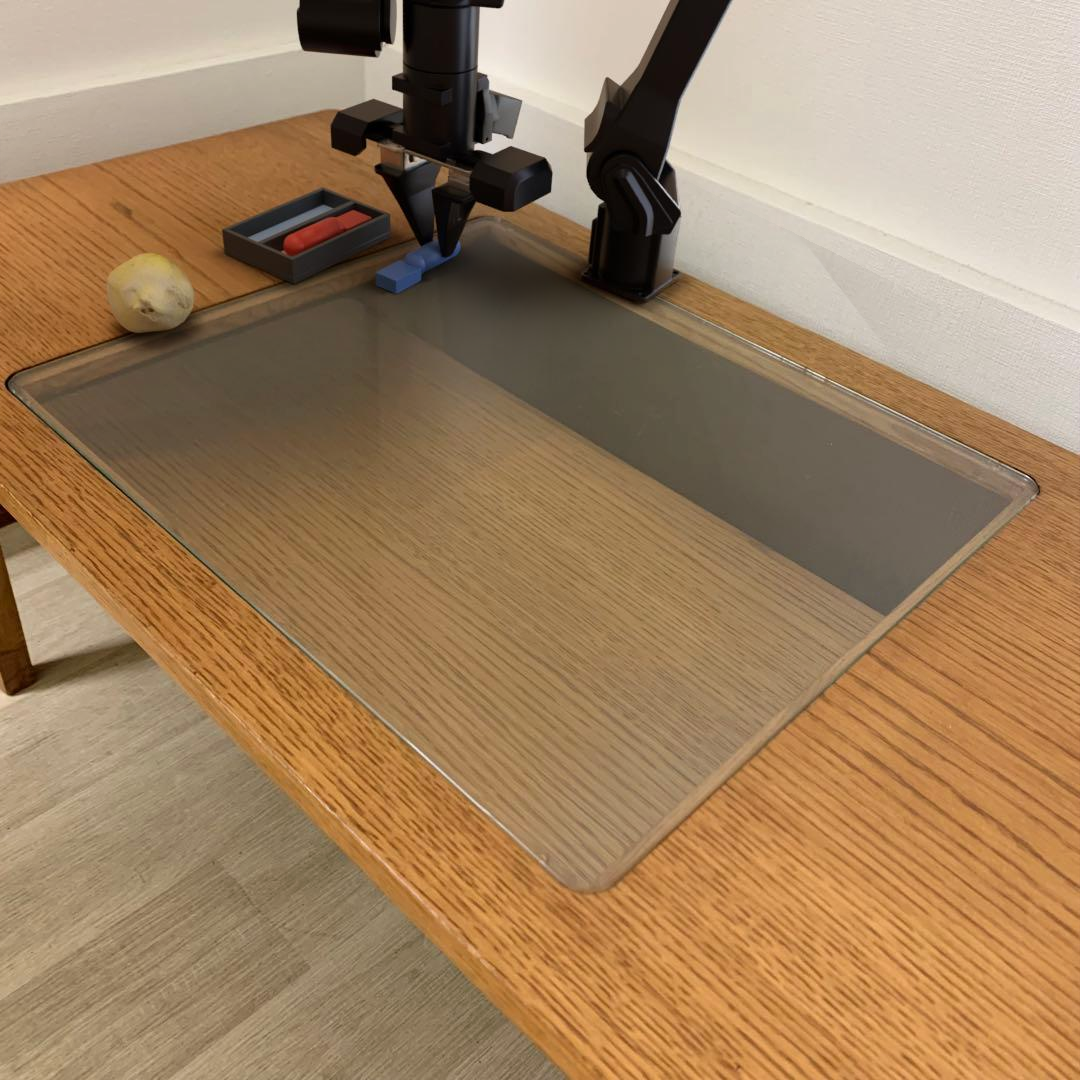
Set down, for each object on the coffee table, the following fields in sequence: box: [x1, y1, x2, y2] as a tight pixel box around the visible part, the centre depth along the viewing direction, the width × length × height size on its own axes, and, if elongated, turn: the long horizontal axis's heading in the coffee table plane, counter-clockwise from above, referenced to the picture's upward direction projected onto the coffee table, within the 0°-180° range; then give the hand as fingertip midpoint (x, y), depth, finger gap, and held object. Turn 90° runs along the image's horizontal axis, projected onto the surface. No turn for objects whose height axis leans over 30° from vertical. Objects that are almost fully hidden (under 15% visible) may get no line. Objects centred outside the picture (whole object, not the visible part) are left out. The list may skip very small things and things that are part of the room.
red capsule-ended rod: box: [283, 210, 372, 257], centre depth 95 cm, size 9×2×2 cm, turn 145°
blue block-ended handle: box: [375, 237, 461, 295], centre depth 95 cm, size 9×2×2 cm, turn 145°
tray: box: [221, 187, 392, 285], centre depth 97 cm, size 8×12×2 cm, turn 145°
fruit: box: [106, 252, 195, 334], centre depth 85 cm, size 6×6×10 cm
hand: (437, 251), depth 96 cm, fingers closed on blue block-ended handle, 2 cm apart
